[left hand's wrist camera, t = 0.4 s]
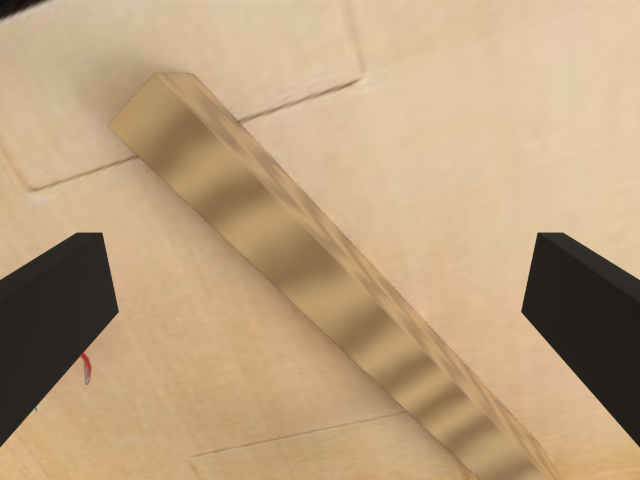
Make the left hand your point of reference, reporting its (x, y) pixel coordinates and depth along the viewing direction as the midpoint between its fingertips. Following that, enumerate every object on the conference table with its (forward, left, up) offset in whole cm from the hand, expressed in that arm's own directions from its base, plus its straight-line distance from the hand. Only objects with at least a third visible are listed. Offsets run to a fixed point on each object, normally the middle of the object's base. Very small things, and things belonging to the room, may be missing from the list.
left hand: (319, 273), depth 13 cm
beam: (+14, +11, -25) cm, 31 cm away
